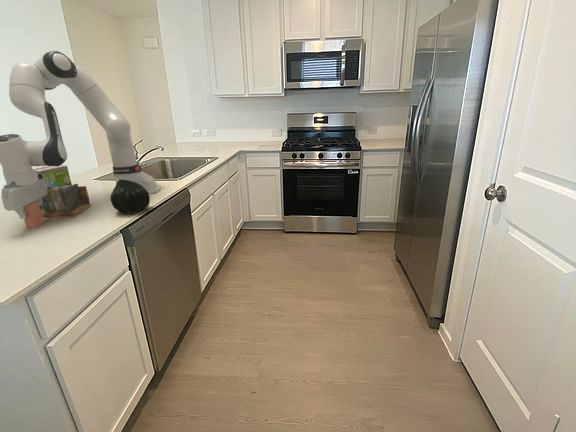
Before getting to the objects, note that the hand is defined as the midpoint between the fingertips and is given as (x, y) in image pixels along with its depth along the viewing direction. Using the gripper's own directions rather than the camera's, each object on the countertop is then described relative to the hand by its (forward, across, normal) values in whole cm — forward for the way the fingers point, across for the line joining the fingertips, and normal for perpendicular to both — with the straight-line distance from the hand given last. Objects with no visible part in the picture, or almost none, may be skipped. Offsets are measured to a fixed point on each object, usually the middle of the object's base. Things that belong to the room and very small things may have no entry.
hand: (32, 213), depth 122 cm
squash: (+5, +11, -33) cm, 35 cm away
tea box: (+5, +45, +17) cm, 48 cm away
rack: (+5, +15, -1) cm, 16 cm away
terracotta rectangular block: (+5, 0, 0) cm, 5 cm away
